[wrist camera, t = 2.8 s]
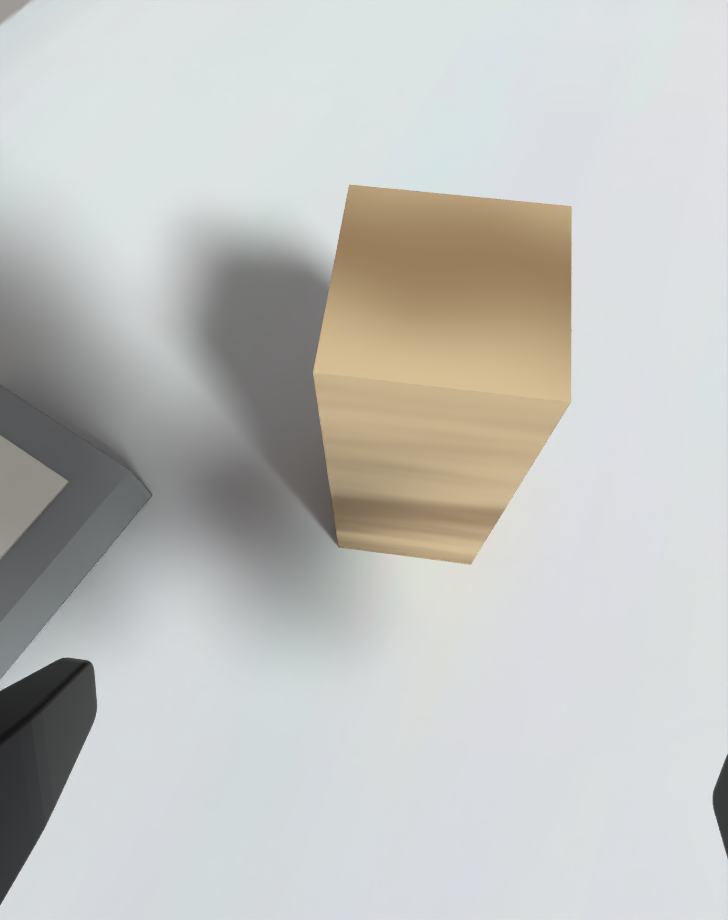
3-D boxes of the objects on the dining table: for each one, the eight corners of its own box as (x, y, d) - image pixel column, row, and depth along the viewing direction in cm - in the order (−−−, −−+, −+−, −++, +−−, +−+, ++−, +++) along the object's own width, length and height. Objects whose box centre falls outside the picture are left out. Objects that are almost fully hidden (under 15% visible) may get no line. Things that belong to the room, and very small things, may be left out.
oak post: (470, 564, 23) (570, 401, 12) (338, 547, 24) (312, 372, 12) (478, 443, 25) (571, 206, 14) (356, 429, 26) (349, 184, 14)
